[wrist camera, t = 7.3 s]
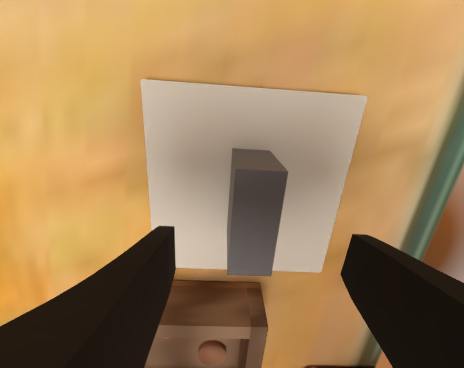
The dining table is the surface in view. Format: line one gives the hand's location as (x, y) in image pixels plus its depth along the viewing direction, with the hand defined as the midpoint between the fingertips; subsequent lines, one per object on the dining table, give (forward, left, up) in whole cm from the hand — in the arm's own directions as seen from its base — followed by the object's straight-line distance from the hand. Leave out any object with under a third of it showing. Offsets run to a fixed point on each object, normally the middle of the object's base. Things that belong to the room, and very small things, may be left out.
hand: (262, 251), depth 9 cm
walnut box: (+4, +15, -7) cm, 17 cm away
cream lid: (0, 0, -7) cm, 7 cm away
